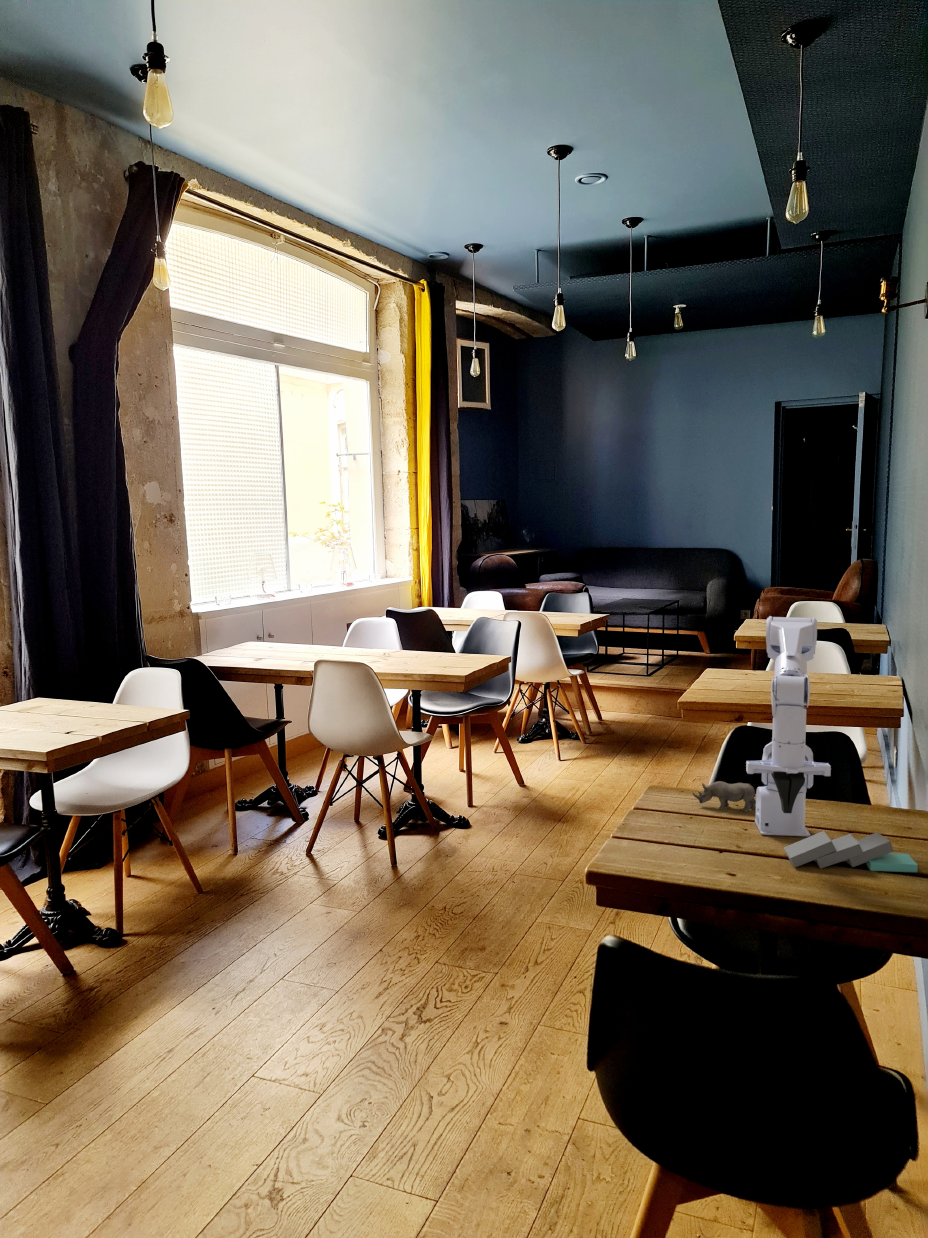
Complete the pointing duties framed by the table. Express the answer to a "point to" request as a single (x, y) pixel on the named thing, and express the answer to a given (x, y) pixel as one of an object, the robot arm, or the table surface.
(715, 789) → the rhino figurine
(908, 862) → the teal domino
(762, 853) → the table surface
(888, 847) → the grey domino block
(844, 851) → the gray domino
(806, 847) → the gray domino
